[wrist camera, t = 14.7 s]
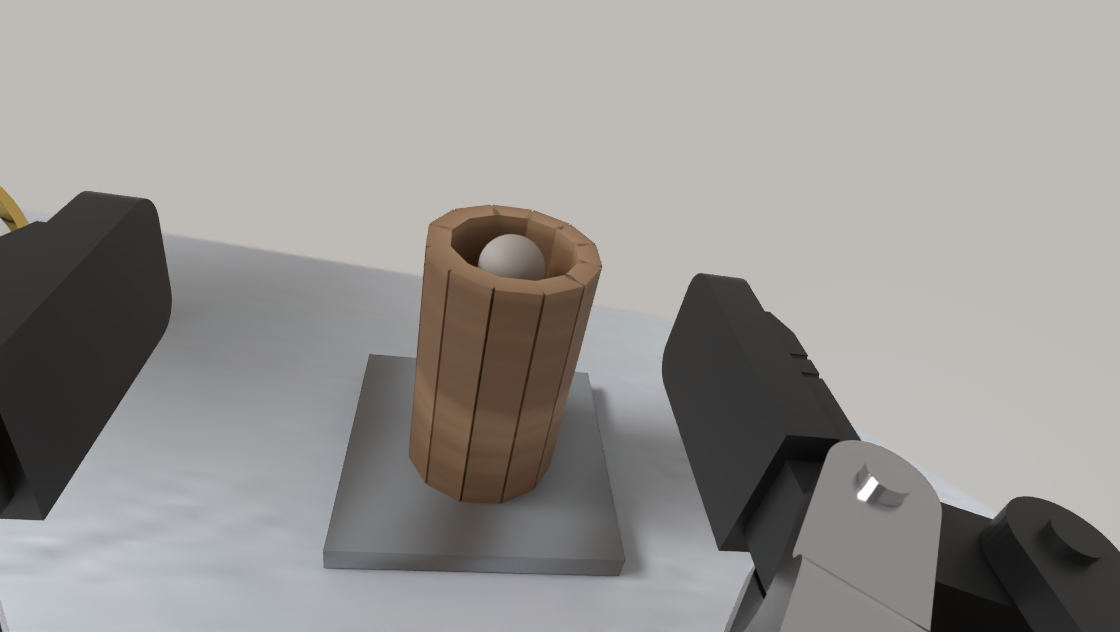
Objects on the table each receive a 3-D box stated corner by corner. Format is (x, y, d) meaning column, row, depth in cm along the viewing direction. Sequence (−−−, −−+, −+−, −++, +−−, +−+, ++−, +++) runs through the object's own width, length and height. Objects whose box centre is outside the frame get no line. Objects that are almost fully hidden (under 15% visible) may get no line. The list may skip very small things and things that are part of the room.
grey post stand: (323, 567, 23) (316, 313, 17) (369, 369, 32) (375, 156, 26) (618, 576, 25) (710, 351, 19) (583, 387, 34) (638, 193, 28)
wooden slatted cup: (403, 499, 25) (420, 282, 19) (416, 394, 30) (433, 196, 24) (555, 506, 26) (612, 302, 20) (543, 403, 31) (587, 217, 25)
